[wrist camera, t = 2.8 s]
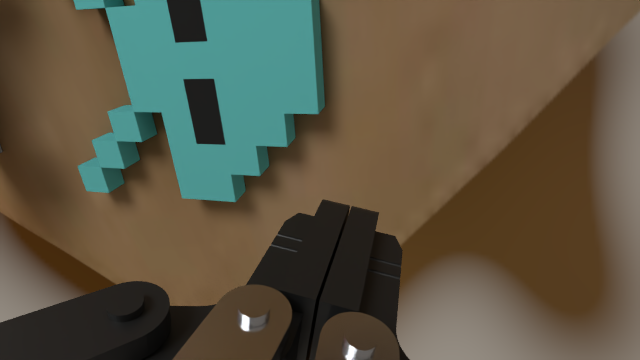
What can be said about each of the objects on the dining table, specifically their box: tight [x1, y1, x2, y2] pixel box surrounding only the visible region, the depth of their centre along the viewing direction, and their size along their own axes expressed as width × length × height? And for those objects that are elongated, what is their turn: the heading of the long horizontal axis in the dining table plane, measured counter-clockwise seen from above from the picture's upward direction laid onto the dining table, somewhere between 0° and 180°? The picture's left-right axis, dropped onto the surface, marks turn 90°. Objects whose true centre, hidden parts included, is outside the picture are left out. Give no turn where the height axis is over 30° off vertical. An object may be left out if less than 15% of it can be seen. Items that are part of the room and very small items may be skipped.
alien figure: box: [74, 0, 325, 202], centre depth 25 cm, size 20×2×20 cm
